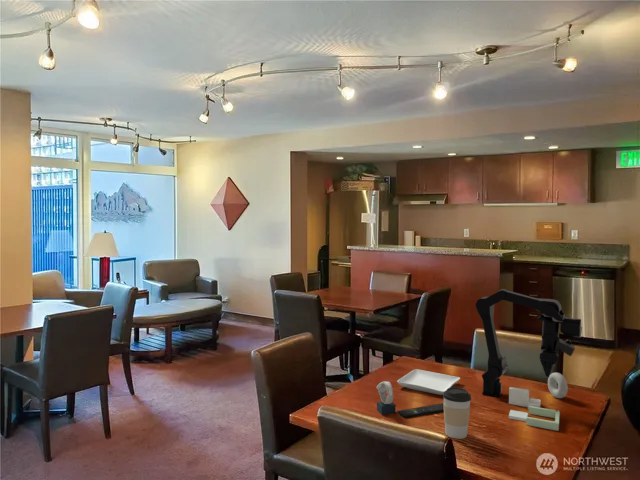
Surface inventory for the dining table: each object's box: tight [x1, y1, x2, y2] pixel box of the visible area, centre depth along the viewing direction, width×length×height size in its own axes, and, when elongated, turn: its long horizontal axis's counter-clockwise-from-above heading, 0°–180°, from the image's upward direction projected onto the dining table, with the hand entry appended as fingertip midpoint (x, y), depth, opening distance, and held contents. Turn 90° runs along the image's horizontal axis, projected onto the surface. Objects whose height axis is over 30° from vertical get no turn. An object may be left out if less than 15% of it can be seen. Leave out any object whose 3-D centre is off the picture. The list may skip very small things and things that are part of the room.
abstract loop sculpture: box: [376, 380, 397, 415], centre depth 181 cm, size 6×8×11 cm
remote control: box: [396, 402, 444, 419], centre depth 182 cm, size 5×24×1 cm, turn 112°
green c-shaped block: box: [525, 406, 560, 432], centre depth 173 cm, size 10×12×2 cm
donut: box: [547, 372, 569, 399], centre depth 196 cm, size 10×4×10 cm, turn 10°
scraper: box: [508, 386, 542, 410], centre depth 188 cm, size 11×7×6 cm, turn 63°
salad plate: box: [396, 368, 461, 396], centre depth 209 cm, size 21×21×3 cm
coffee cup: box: [442, 386, 472, 440], centre depth 162 cm, size 9×9×15 cm
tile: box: [508, 409, 529, 422], centre depth 177 cm, size 6×6×2 cm
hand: (547, 373), depth 188 cm, fingers open, 9 cm apart
